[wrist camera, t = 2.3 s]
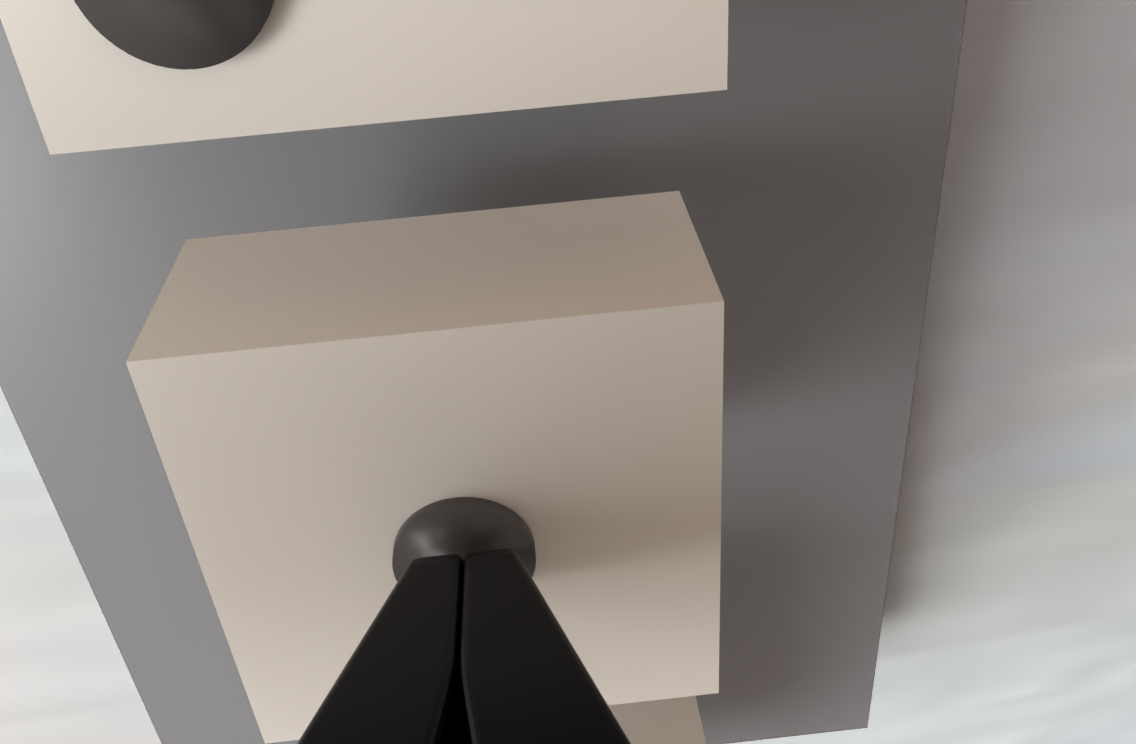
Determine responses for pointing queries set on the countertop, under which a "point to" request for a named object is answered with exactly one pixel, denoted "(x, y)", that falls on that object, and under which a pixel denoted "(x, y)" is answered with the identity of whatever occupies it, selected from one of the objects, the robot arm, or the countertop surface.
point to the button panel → (521, 178)
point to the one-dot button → (448, 431)
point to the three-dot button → (661, 721)
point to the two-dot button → (342, 62)
